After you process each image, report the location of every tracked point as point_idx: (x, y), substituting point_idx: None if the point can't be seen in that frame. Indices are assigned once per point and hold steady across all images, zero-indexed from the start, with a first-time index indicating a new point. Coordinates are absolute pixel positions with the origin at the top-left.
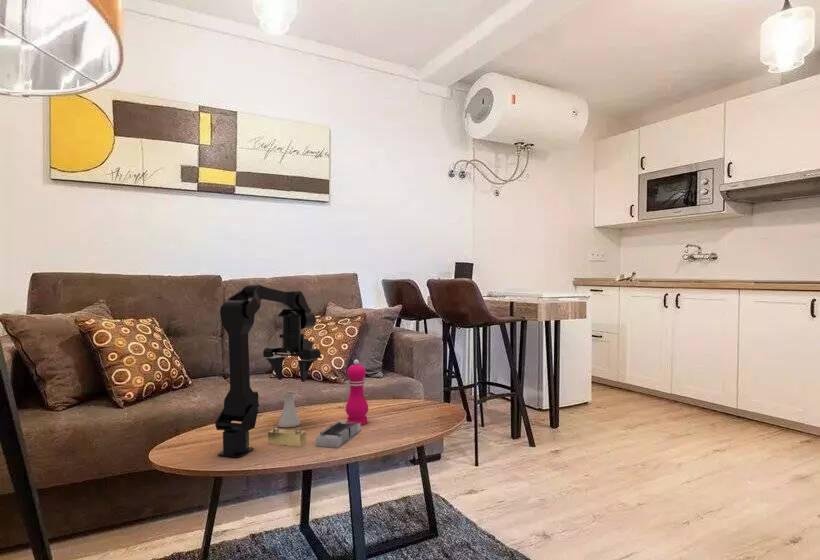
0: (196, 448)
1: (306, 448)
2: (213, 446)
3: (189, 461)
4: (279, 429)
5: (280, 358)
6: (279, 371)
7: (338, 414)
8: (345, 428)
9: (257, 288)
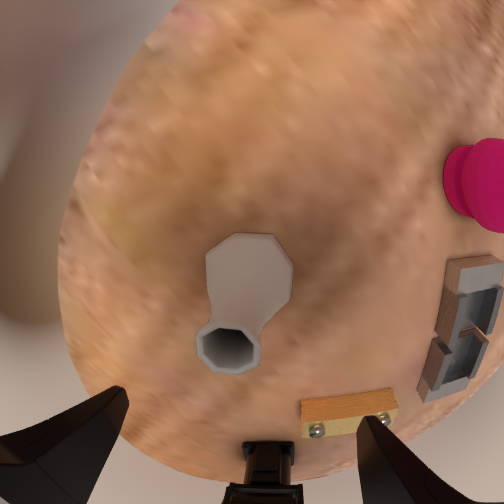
0: (177, 444)
1: (400, 404)
2: (195, 438)
3: (223, 473)
4: (320, 422)
5: (20, 502)
6: (96, 446)
7: (356, 80)
8: (482, 344)
9: None
